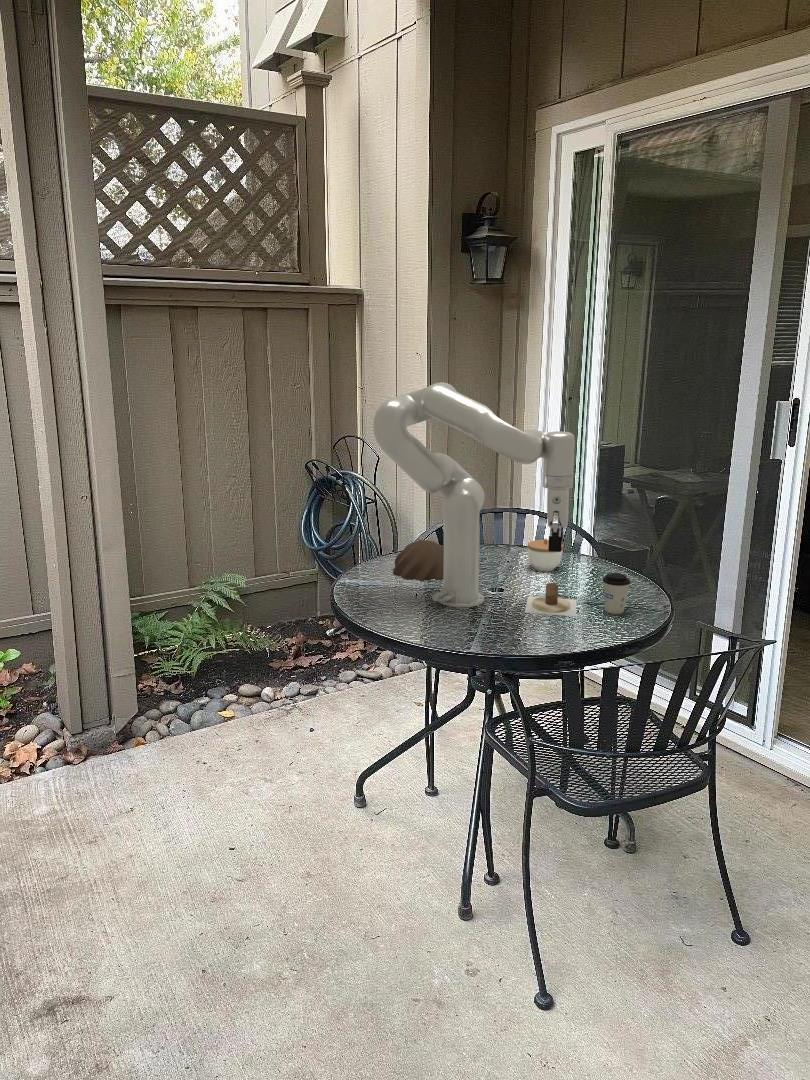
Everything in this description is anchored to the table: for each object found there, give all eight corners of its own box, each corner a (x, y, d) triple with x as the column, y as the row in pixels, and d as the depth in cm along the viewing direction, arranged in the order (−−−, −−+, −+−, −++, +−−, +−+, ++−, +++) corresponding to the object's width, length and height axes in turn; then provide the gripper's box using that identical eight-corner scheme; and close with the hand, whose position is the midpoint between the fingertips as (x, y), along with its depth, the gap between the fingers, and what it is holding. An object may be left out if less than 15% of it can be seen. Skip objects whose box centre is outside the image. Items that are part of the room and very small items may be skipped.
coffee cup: (624, 608, 205) (627, 571, 203) (631, 617, 198) (634, 580, 196) (597, 607, 205) (600, 571, 203) (603, 617, 199) (606, 579, 196)
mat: (575, 618, 198) (576, 616, 198) (524, 614, 201) (524, 612, 201) (576, 601, 210) (576, 599, 210) (528, 598, 213) (528, 596, 213)
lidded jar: (524, 563, 245) (526, 534, 243) (559, 563, 245) (560, 534, 242) (528, 573, 235) (530, 543, 232) (564, 573, 234) (566, 543, 232)
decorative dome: (379, 572, 237) (379, 540, 235) (424, 559, 250) (425, 529, 248) (424, 586, 224) (424, 552, 221) (470, 571, 237) (470, 540, 235)
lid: (557, 615, 198) (558, 593, 197) (524, 606, 205) (525, 585, 204) (577, 605, 206) (579, 584, 204) (545, 597, 212) (546, 576, 211)
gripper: (572, 487, 188) (569, 556, 192) (573, 475, 204) (571, 538, 208) (540, 487, 189) (538, 554, 194) (544, 474, 206) (542, 537, 210)
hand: (555, 546), depth 201 cm, fingers open, 9 cm apart
